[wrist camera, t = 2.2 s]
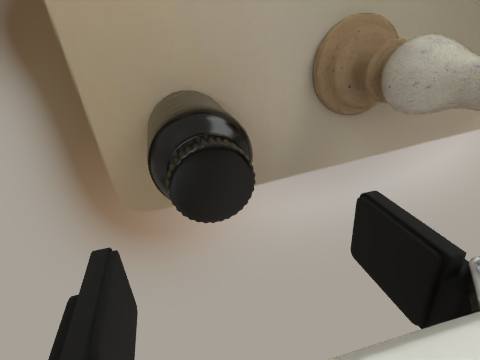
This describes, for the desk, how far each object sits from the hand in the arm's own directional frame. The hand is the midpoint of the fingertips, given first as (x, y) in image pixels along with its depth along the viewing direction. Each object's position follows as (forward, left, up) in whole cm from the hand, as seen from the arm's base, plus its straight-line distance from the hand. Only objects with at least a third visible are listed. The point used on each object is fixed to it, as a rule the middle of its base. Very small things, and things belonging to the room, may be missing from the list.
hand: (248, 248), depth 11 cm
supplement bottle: (0, 0, -17) cm, 17 cm away
